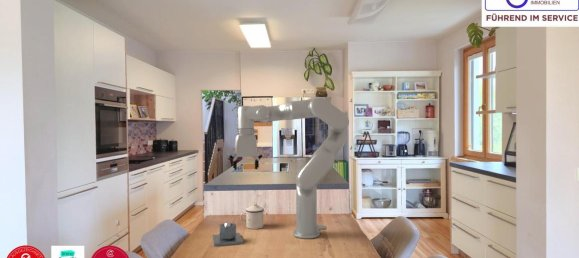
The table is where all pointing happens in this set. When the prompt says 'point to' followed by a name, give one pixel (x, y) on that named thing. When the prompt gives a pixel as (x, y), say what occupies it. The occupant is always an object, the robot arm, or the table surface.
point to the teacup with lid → (253, 217)
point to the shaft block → (222, 242)
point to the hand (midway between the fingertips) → (245, 169)
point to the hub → (228, 231)
